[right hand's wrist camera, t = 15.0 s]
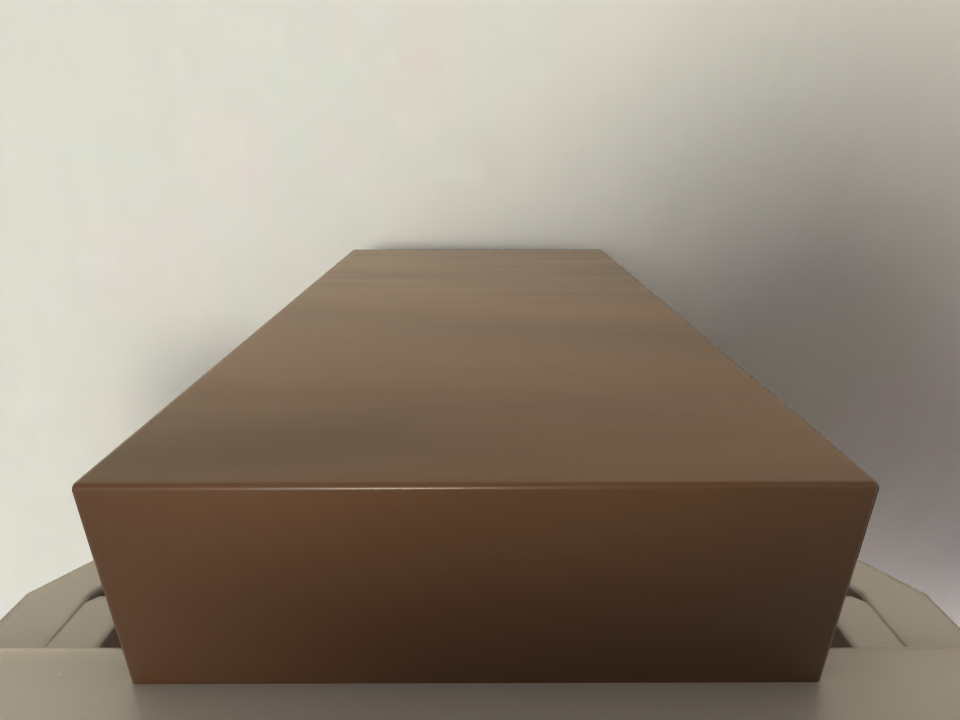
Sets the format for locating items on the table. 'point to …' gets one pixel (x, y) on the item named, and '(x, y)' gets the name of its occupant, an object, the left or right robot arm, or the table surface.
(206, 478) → the box
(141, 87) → the table surface
